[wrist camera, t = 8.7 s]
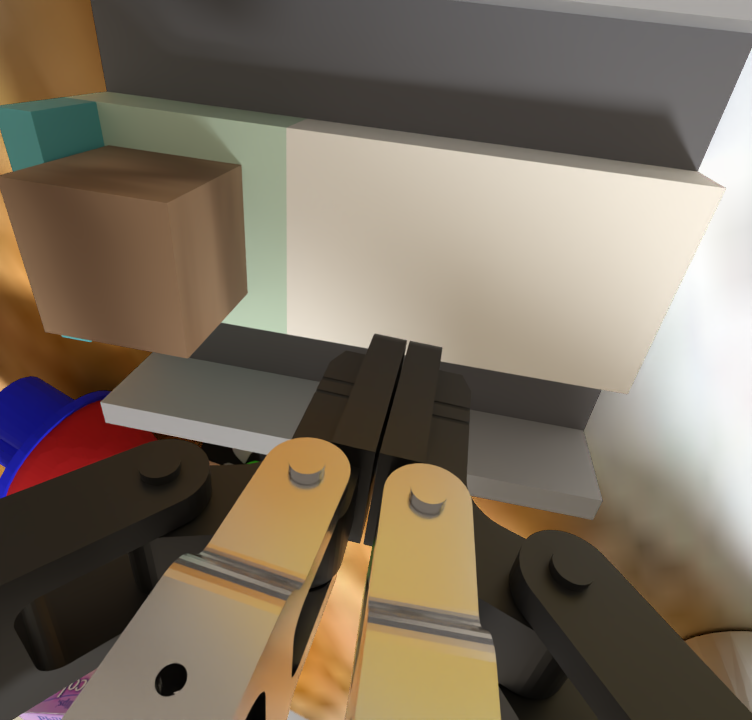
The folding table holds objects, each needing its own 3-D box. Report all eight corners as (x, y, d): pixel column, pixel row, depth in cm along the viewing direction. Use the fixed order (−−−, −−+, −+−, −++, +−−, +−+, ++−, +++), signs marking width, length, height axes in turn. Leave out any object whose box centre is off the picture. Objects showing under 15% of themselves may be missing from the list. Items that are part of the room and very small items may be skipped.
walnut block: (241, 164, 17) (166, 203, 13) (247, 293, 20) (187, 358, 16) (108, 145, 18) (-4, 176, 14) (132, 273, 21) (45, 331, 16)
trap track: (769, -14, 15) (917, -43, 10) (573, 440, 25) (597, 539, 20) (86, -84, 17) (-79, -137, 12) (162, 364, 27) (91, 437, 22)
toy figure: (96, 415, 34) (283, 531, 33) (-45, 523, 26) (189, 676, 25) (95, 317, 28) (321, 453, 27) (-87, 420, 21) (213, 613, 20)
